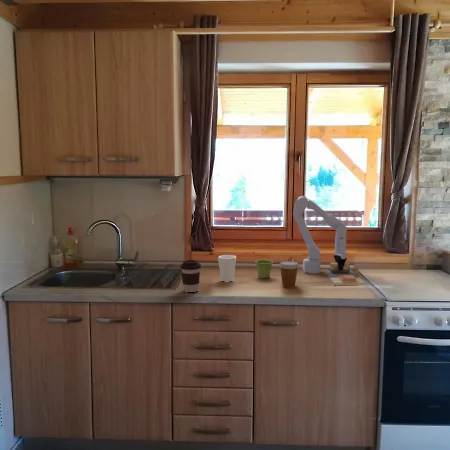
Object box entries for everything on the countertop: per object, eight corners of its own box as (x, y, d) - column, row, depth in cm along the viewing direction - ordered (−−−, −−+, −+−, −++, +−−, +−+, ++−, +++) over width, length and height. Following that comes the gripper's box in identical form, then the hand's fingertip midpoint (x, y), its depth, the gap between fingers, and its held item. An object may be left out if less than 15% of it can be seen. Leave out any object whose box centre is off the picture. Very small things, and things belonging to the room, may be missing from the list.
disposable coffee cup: (287, 282, 245) (287, 260, 243) (302, 286, 238) (302, 262, 236) (275, 286, 238) (275, 262, 236) (290, 289, 231) (290, 266, 230)
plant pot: (260, 274, 262) (261, 259, 261) (275, 276, 257) (275, 261, 256) (252, 277, 255) (252, 262, 254) (267, 280, 249) (267, 264, 248)
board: (333, 285, 238) (334, 282, 238) (322, 272, 266) (322, 269, 266) (365, 285, 238) (365, 282, 238) (350, 271, 266) (350, 269, 266)
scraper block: (331, 272, 257) (331, 264, 256) (329, 270, 261) (330, 262, 260) (349, 272, 257) (350, 264, 256) (347, 270, 261) (348, 262, 260)
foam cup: (215, 282, 246) (215, 257, 245) (222, 277, 255) (222, 254, 253) (232, 283, 243) (232, 259, 241) (238, 279, 251) (238, 255, 249)
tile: (342, 282, 239) (342, 278, 239) (339, 278, 246) (339, 275, 245) (356, 282, 239) (356, 278, 239) (352, 278, 246) (352, 274, 246)
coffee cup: (182, 288, 235) (181, 259, 233) (201, 288, 235) (201, 259, 233) (179, 294, 225) (179, 263, 223) (200, 294, 225) (199, 263, 223)
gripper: (351, 247, 249) (350, 272, 251) (344, 242, 264) (343, 266, 266) (338, 247, 249) (337, 272, 251) (331, 242, 264) (331, 266, 266)
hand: (339, 269), depth 259 cm, fingers closed on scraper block, 4 cm apart
